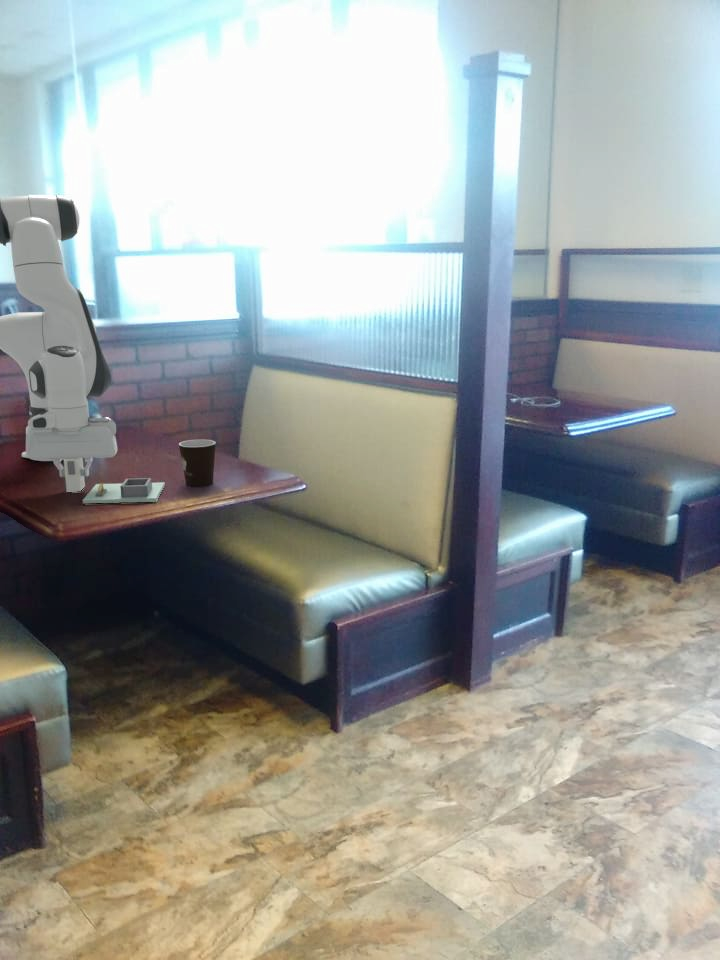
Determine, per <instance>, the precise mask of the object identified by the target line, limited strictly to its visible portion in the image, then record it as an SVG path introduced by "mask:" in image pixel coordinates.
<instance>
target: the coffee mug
mask: <svg viewBox="0 0 720 960" xmlns="http://www.w3.org/2000/svg"><path fill="white" fill-rule="evenodd" d="M216 445H217V444H216V441H214V440H212V439H189V440H184V441H181V442H179V443H178V446H179V453H180V457H181V458H180V459H181V464H182V469H183V475H184V480H185V485H186V487H189V486H190V487H189V488H205V487H210V486H212V485H213V484H214V472H215V457H216Z"/></svg>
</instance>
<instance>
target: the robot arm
mask: <svg viewBox="0 0 720 960" xmlns="http://www.w3.org/2000/svg"><path fill="white" fill-rule="evenodd" d="M79 227H80V213H79V210H78V209H77V206H76V205H75V203H74V201H73V199H71V197H69V196H66V195H60V194H56V195H49V194H27V195H14V196H6V197H2V198H0V244H2V246H5V247H6V246H7V244H9V243H10V244H11V245H10V246H11V248H10V249H11V257H12V267H13V274H14V278H15V287H16V290H17V291H18V293H19V294H20V295H21V296H22V297H23V298H25V300H27V301H29V302H30V303H32V304H34V305H36V306H38V307H41V308H42V310H43V311H37V312H36V311H31V312H30V311H26V312H25V311H24V312H19V311H17V312H14V313H9V314H4V315H1V316H0V350H1V351H2V352H3V353H5V354H7V355H8V356H10V357H11V358H12V359H13V360H14V361H15V362H16V363H17V364H18V366H19V367H20V368H21V370H22V372H23V374H24V375H25V380H26V382H27V383H26V384H27V388H28V392H29V394H28V395H29V401H30V405H29V419H28V421H27V426H26V427H25V451H23V452H22V453H21V457H22V458H26V459H30V460H32V461H39V462H53V465H54V466H55V467H56V468H57V470H58V472H59V478H65V468H64V465H63V464H62V461H64V458H83V459H84V462H85V463H86V465H85V467H83V468H82V469H81V476H84V477H90V476H89V475H90V467H91V464H92V463H93V462H94V459H93V458H97V459H98V458H100V459H101V458H113V457H114V456H115V455H116V454H117V453H118V442H117V439H116V438H117V437H116V433H117V424H116V422H115V421H114V420H113V419H111V418H109V417H107V416H106V417H105V416H103V417H96V416H95V417H94V416H93V417H90V410H89V402H88V398H100V397H102V396H103V395H104V394H105V393H106V392H107V391H108V390H109V388H110V387H111V384H112V377H111V375H112V374H111V371H110V368H109V365H108V363H107V361H106V359H105V356H104V354H103V350H102V348H101V345H100V341H99V338H98V335H97V328H96V325H95V324H96V323H94V320H93V319H92V317H91V316H92V315H91V313H90V310H89V308H88V305H87V301H86V299H85V297H84V295H83V293H82V291H81V290H80V289H79V288H78V287H75V286H74V285H72V283H71V281H70V280H69V278H68V276H67V274H66V270H65V267H64V261H63V255H62V251H61V246H60V242H59V241H60V240H61V242H65V241H67V240H70V239H73V238H74V237H76V235H77V234H78V229H79Z"/></svg>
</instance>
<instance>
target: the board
mask: <svg viewBox="0 0 720 960" xmlns="http://www.w3.org/2000/svg"><path fill="white" fill-rule="evenodd" d="M152 480H153V479H152V477H148V478H147V477H146V478H145V477H144V478H143V477H140V478H125V479H124V481H123V482H121V483H102V482H101V483H96V484H95V485H94V486H93V487H92V489H91V490H90V491H89V492H88V493H87V494H86V496H85V497H84V498H83V499H82V504H83V503H112V502H113V503H119V502H153V503H154V502H156V503H157V502H158V500H159V499H158V498H160V497H159V496H161V495H160V494H162V493H163V491H164V489H165V487H166V482H163V481H162V482H153V481H152ZM164 486H165V487H164ZM163 488H164V489H163ZM162 490H163V491H162ZM161 492H162V493H161ZM153 503H152V504H153Z"/></svg>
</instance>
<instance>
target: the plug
mask: <svg viewBox="0 0 720 960" xmlns="http://www.w3.org/2000/svg"><path fill="white" fill-rule="evenodd" d="M83 459H84V458H64V460H63V467H64V468H65V477H64V478H65V487H66V493H67V492H72V493H78V492H77V491H81V490H82V489H83V488H84V487H85V488H86V483H85V476H81V469H82V468H84V461H83ZM85 488H84V489H85ZM84 489H83V490H84ZM83 490H82V491H83Z"/></svg>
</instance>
